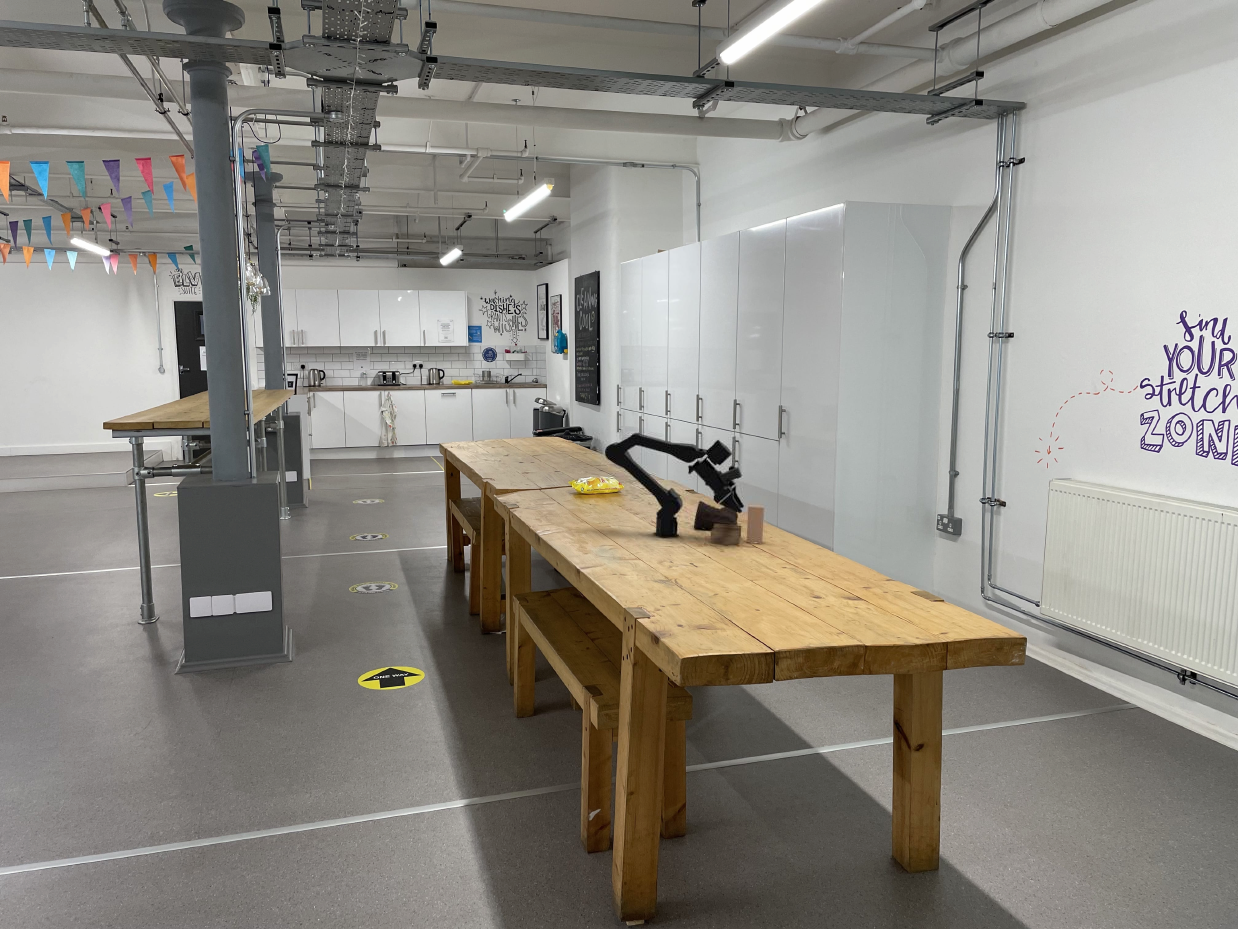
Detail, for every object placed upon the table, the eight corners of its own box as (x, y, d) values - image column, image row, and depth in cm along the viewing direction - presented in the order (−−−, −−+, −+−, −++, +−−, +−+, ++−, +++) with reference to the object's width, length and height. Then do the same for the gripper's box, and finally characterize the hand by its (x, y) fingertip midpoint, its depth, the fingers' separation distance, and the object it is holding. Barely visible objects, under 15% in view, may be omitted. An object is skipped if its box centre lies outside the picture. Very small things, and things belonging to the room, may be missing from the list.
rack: (710, 543, 280) (710, 531, 279) (714, 534, 293) (714, 523, 292) (738, 545, 278) (738, 533, 278) (740, 536, 291) (741, 525, 290)
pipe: (740, 504, 311) (699, 495, 312) (742, 514, 296) (699, 504, 297) (734, 529, 313) (693, 520, 314) (735, 541, 298) (693, 531, 299)
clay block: (746, 542, 282) (748, 506, 280) (747, 540, 286) (749, 504, 284) (761, 543, 281) (763, 507, 279) (762, 541, 285) (764, 505, 283)
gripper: (725, 462, 273) (759, 498, 272) (730, 455, 291) (761, 489, 290) (699, 485, 275) (732, 521, 275) (706, 477, 294) (737, 511, 293)
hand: (742, 509), depth 283 cm, fingers open, 9 cm apart
